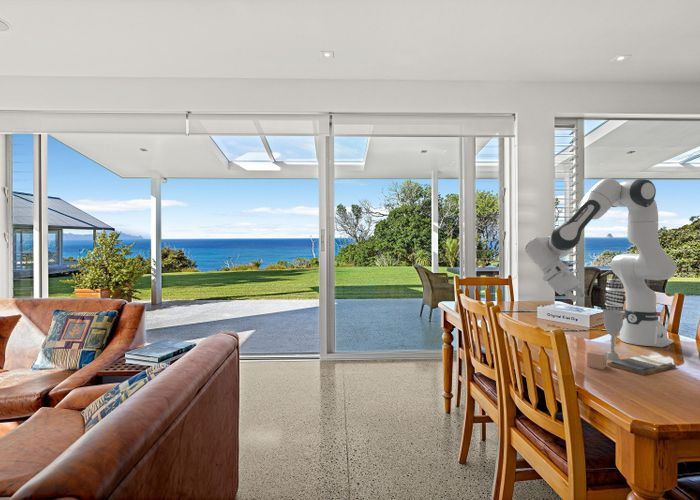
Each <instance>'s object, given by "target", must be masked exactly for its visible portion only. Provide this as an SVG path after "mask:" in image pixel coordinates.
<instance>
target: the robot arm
mask: <svg viewBox="0 0 700 500" xmlns="http://www.w3.org/2000/svg"><path fill="white" fill-rule="evenodd" d="M656 191H657V190H656V186H655V184H654V183H653V181H651V180H649V179H646V178H645V179H644V178H638V179H629V180H624V181H620V182H618V180H616V179H614V178H609V177H606V178H602V179H600V180H599V181H598V182H597V183H595V184H594V185H593V186H592V187H591V188H590V189H588V191H587V192H586V193H585V194H584V196H583V197H582V198H581V200H580V201H579V204H578V205H577V209H578V210H577V211H576V212H575V213H574V214H573V215H572V216H571V217H570V218H569V219H568V220H567V221H566V222H564V223H561V224H559V225H557V226H556V227H555V228H554V229H553V231H552V233H551V235H549V236H535V237H532V239H531V240H529V242H528V243H527V244H526V245H525V249H524V251H525V253H526V255H527V256H528V258H529V259H530V260H531V261H532V263H533V264H534V265H535V266H537V267H538V268H539V270H540V272H541V273H542V280H543V281H544V282H546V283H548V285H549V286H550V287H551V289H553V291H554V292H556V294H558V295H560V296H563V295H565V296H566V297H567V298H569V299H570V300H571V301H572V302H573V303H575V302H576V301H579V298H580V299H583V298H584V297H586V294H585V293H584V292H583V289H582V288H581V287H580V286H582V284H583V283H582V282H581V280H579V278H578V277H577V276H576V275H575V274H574V273H573V272H572V271H570V270H568V269H569V267H568V266H567V265H566V264H565V263H564V262H563V261H562V259H561V258H565V257H566V256H568V255H569V254H570V253H571V252H572V250H573V249H574V248H575V246H577V245H578V244H579V242H580V240H581V236H582V232H583V231H584V229H585V227H586V226H588V224H589V223H590V222H591V221H592V220H599V219H600V218H602V217H603V216H605V214H606V213H607V212H608V211H609V210H610V209H611V208H618V207H619V208H625V207H626V208H627V210H628V214H627V215H628V216H627V242H629V243H630V244H632V245H634V246H635V247H636V249H637V251H638V253H622V254H617V255H615V256H614V257H613V258H612V260H611V262H610V268H611V271H612V272H613V274H615V276H617V278H618V279H620V280H621V282H622V284H623V286H624V292H625V294H624V295H625V309H624V308H623V311H624V312H625V313H624V314H623V315H624V317H623V318H624V320H623V326H622V328H621V330H620V331H619V334H618V335H616V338H617V339H619V340H620V341H621V342H622V343H627V344H631V345H637V346H646V347H658V348H663V347H664V348H665V347H667V346H668V345H669V346H670V344H673V343H674V339H671V338H668V332H667V328H666V326H664V325H663V324H662V323H661V322H660V321H659V317H661V316H662V312H661V311H657V295H656V292H655V291H654V290H653V289H651V288H650V287H648V285H647V284H646V281H645V280H648V281H650V280H651V281H663V280H670V279H671V278H672V277H674V275H675V274H676V271H677V264H676V262H675V261H674V259H673V258H672V257H671V256H670V255H668V254H667V253H666V252H665V251H664V249H663V247H662V245H661V242H660V238H659V210H658V207H657V205H658V204H657V202H656V200H655V198H656V193H657V192H656ZM572 291H575V292H576V294H578V295H577V296H578V297H579V298H578V297H577V296H576V295H575V294H574V293H573V292H572Z"/></svg>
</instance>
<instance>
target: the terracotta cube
mask: <svg viewBox="0 0 700 500" xmlns="http://www.w3.org/2000/svg"><path fill="white" fill-rule="evenodd" d="M586 357H587V359H586V360H587V361H586V367H589V368H594V369H599V370H604V369H605V368H606V367H607V366H608V365H607V363H608V360H607V352H605V351H599V350H594V349H593V350H592V349H591V350H590V351H587V356H586Z"/></svg>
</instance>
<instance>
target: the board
mask: <svg viewBox="0 0 700 500" xmlns="http://www.w3.org/2000/svg"><path fill="white" fill-rule="evenodd" d="M607 366H608V367H613V368H615V369H618V370H622V371H623V370H624V371H627V372H630V373H634V374H638V375H641V376H646V375H649V374H654V373H657V372H662V371H667V370H671V369H674V368H676V364H675V363H673V362H671V361H667V360H664V359H658V358H655V357H651V356H648V355H647V356H646V355H637V356H632V357H628V358H622V359H620V360H612V361H607Z"/></svg>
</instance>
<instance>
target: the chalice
mask: <svg viewBox="0 0 700 500" xmlns="http://www.w3.org/2000/svg"><path fill="white" fill-rule="evenodd" d="M602 313H603V325H604V326H605V327H604V328H605V329H606V332H607V334H608V335H609V336H610V344H609V346H610V350H608V351H607V352H606V353H607V359H608V360H612V361H616V360H621V359H620V356H619V354H618V352H616V351H615V347H616V345H615V342H616V340H615V336H618V335H619V334H620V330H621V328H622V326H623V318H624V317H623V315H624V313H625V312H624V310H623V311H619V310H606V309H602Z"/></svg>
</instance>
